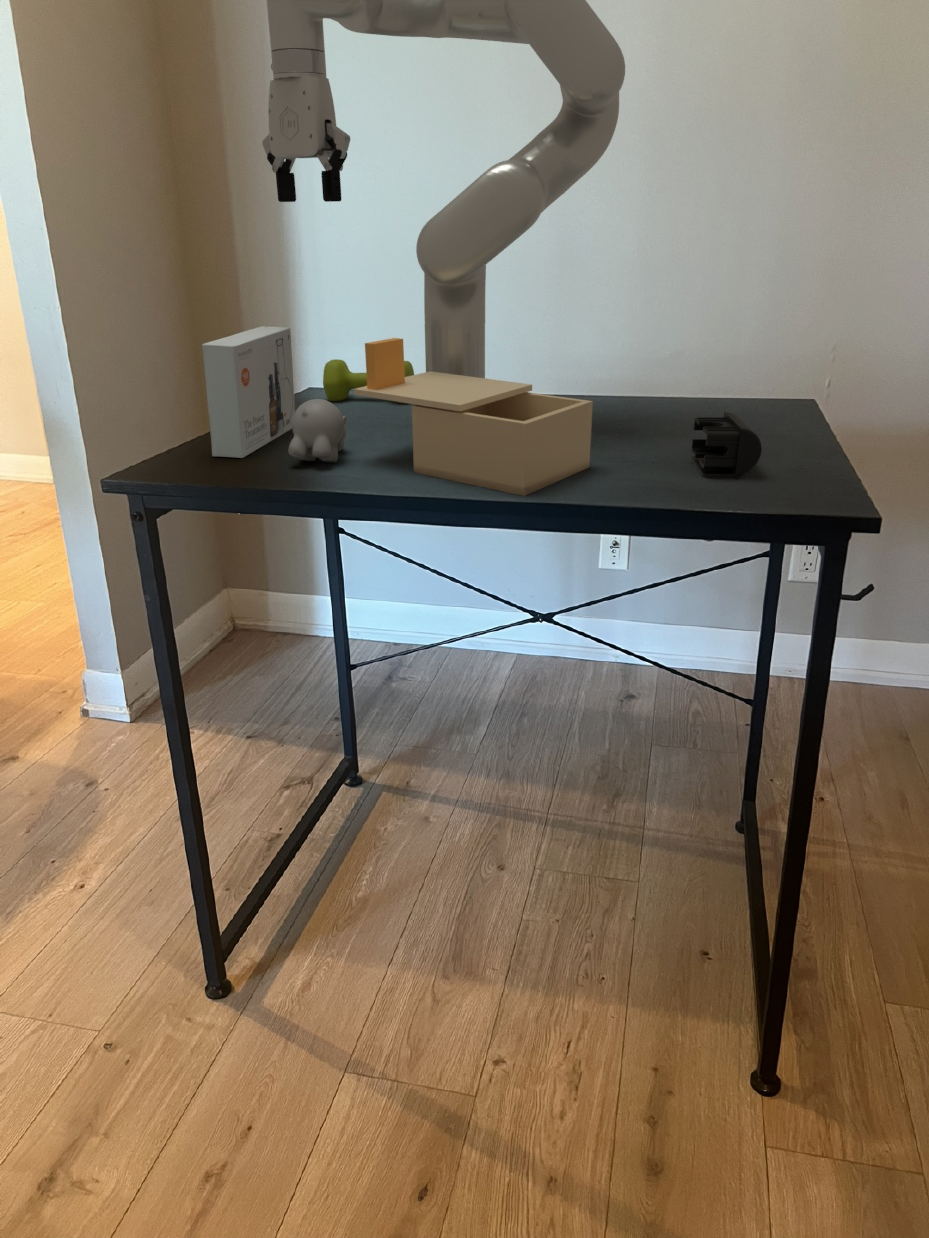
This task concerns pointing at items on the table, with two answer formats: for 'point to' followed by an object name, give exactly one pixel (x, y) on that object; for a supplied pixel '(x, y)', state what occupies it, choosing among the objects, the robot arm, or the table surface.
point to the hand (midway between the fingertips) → (309, 201)
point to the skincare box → (249, 389)
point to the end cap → (725, 447)
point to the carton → (504, 442)
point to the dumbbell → (347, 379)
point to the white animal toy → (317, 431)
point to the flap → (427, 382)
